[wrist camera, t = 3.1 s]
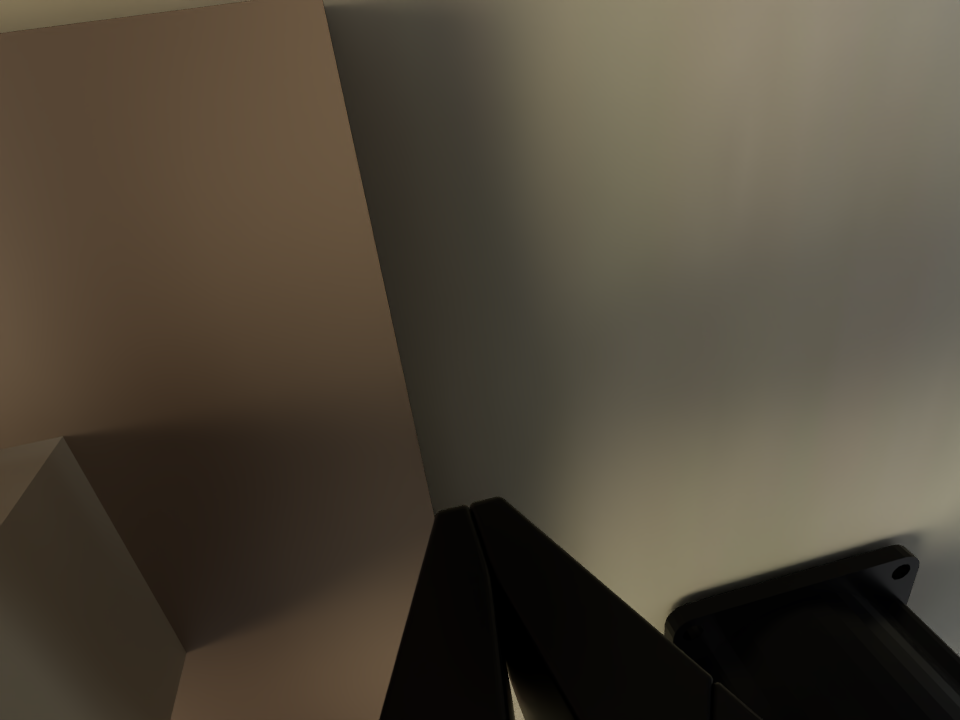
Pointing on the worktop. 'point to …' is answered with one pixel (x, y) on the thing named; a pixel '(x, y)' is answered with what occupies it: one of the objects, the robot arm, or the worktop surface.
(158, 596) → the lane deck
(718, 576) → the worktop surface
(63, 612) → the maple block
